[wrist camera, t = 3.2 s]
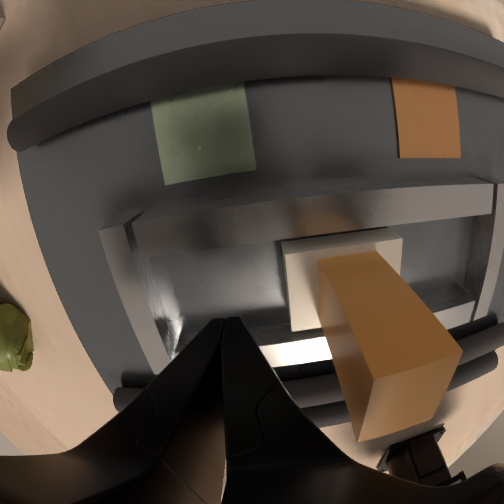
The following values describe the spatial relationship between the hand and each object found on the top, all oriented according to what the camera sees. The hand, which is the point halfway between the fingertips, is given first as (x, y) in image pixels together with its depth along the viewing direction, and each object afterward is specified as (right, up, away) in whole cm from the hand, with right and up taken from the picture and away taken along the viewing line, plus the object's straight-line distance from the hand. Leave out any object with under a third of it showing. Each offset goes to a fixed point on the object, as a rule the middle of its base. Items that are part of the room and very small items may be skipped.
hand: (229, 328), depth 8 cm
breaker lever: (+4, +2, +2) cm, 5 cm away
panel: (+4, +2, +4) cm, 6 cm away
